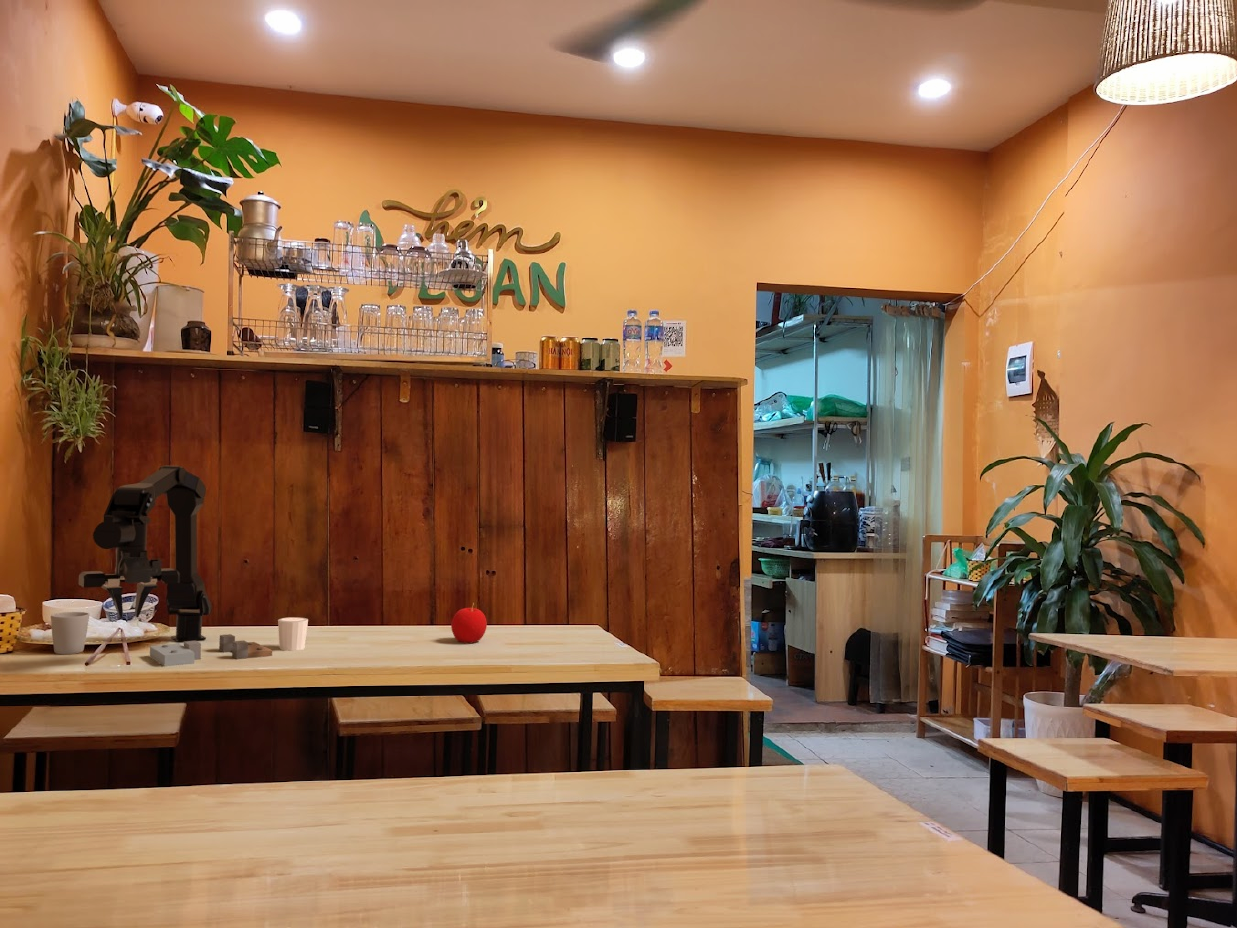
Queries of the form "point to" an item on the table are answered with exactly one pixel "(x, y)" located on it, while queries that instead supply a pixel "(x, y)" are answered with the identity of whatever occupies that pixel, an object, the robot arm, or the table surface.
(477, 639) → the fruit
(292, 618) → the pale pink tumbler
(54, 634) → the cup
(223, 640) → the leaf
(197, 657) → the leaf
